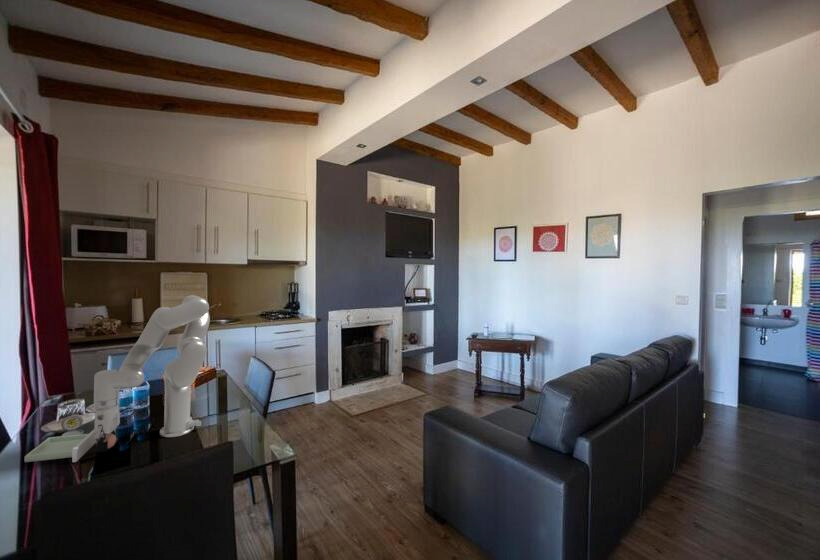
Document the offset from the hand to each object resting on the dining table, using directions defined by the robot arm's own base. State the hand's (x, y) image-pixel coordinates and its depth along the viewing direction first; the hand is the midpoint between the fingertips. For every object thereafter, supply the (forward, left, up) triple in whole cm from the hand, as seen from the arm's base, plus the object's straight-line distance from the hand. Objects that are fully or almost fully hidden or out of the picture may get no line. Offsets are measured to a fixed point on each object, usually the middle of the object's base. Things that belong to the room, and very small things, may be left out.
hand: (106, 446), depth 139 cm
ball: (0, 0, +2) cm, 2 cm away
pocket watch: (+17, -16, -1) cm, 24 cm away
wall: (+6, -2, -1) cm, 7 cm away
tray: (+15, -3, -1) cm, 16 cm away
